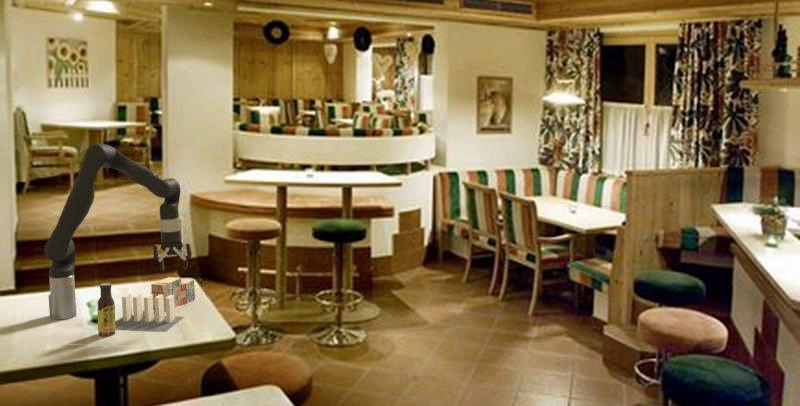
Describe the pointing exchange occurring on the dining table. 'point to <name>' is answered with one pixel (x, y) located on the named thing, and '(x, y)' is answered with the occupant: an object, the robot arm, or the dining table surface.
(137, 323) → the mat
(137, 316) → the domino
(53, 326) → the dining table surface
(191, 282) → the stack of blocks
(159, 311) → the domino
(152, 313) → the domino
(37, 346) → the dining table surface
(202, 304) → the dining table surface
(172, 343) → the dining table surface
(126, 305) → the domino
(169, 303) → the domino
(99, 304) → the sauce bottle
